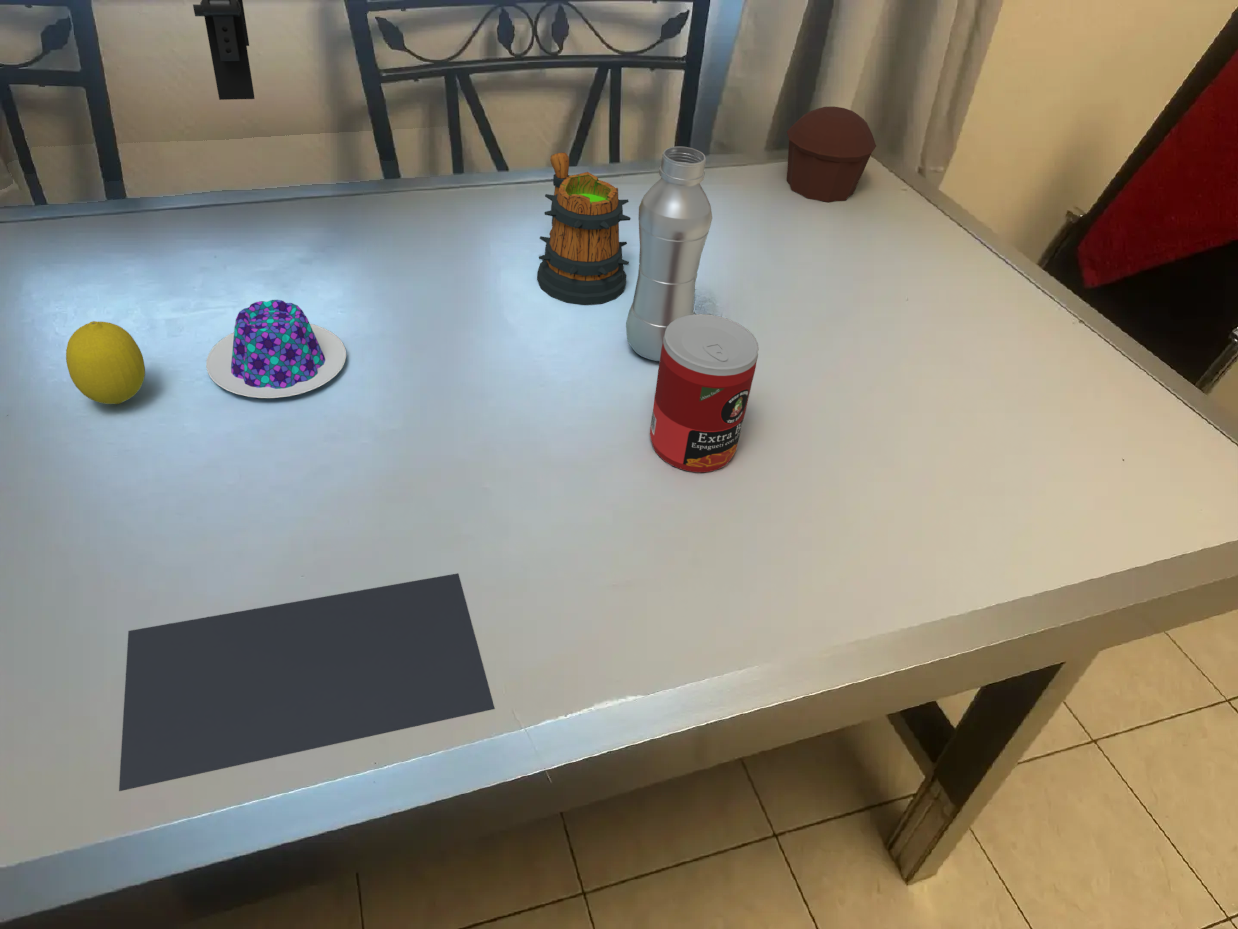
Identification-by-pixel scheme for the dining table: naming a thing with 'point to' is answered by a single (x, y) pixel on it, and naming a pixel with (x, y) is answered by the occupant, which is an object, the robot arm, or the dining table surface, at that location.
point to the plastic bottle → (669, 249)
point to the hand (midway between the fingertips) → (235, 69)
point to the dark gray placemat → (297, 678)
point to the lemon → (105, 362)
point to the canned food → (702, 391)
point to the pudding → (275, 353)
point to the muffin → (828, 153)
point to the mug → (582, 239)
